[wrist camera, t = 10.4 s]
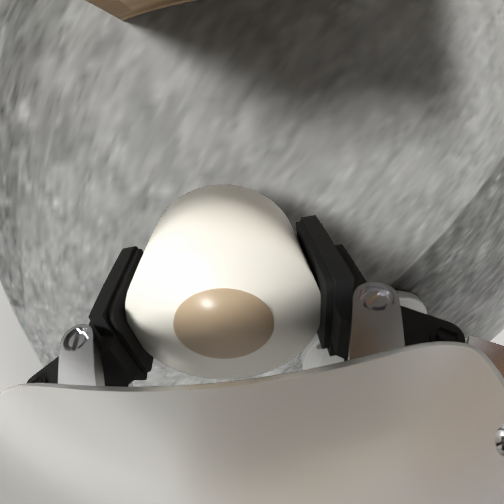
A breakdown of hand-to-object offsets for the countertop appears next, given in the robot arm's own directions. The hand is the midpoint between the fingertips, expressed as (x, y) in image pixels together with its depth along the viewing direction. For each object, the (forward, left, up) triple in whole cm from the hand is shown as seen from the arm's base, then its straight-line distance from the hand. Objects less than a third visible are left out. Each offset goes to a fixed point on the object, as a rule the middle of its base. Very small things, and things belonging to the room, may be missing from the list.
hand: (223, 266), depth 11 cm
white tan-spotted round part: (0, 0, -1) cm, 1 cm away
